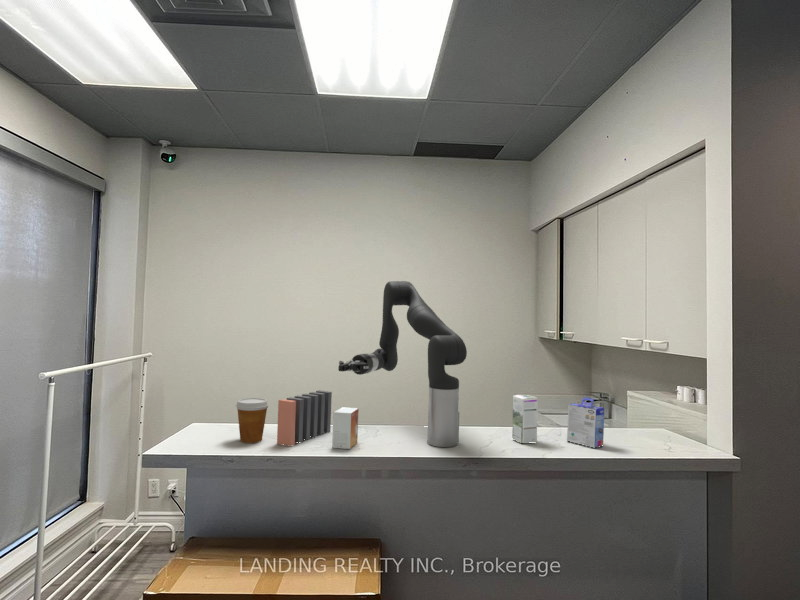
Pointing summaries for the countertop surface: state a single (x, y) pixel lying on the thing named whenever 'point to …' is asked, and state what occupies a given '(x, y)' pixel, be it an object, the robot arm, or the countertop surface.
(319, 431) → the domino
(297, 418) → the domino
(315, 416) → the domino
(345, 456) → the countertop surface
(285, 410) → the domino
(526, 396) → the syrup box
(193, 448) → the countertop surface
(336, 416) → the small box
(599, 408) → the ink cartridge box
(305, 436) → the domino
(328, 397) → the domino
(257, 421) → the disposable coffee cup
